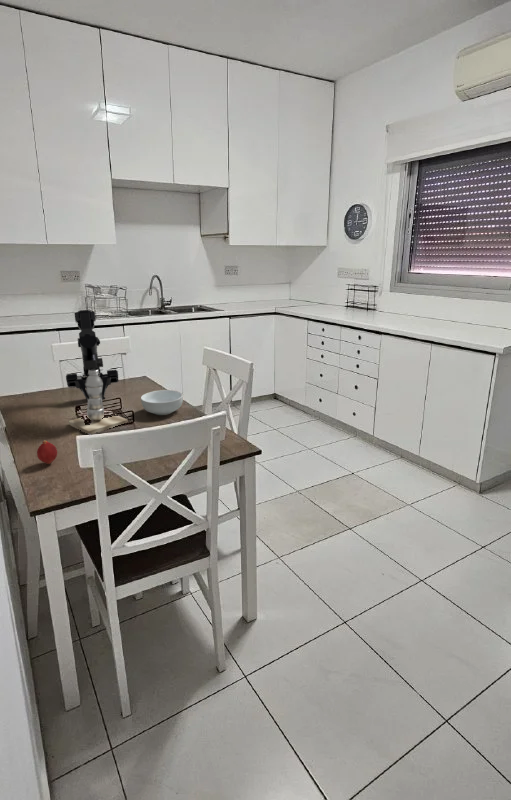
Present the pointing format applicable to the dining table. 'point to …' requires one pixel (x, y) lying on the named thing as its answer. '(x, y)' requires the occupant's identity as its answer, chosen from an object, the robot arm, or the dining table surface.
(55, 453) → the onion
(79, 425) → the birch board
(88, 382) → the plastic bottle
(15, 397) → the dining table surface
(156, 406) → the cereal bowl
